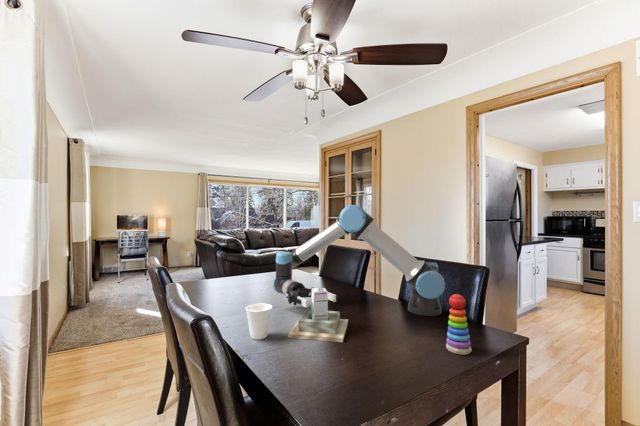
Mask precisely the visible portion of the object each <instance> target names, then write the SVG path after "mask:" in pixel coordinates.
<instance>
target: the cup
mask: <svg viewBox="0 0 640 426" xmlns="http://www.w3.org/2000/svg"><path fill="white" fill-rule="evenodd" d="M245 310H246V317H247V323H248V330H249V336H250V338H251V339H252V340H255V341H258V340H259V341H260V340H264V339H267V337H268V335H269V334H268V333H269V327H270V322H271V316H272V310H273V305H272V304H268V303H253V304H249V305H247V306H245Z"/></svg>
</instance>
